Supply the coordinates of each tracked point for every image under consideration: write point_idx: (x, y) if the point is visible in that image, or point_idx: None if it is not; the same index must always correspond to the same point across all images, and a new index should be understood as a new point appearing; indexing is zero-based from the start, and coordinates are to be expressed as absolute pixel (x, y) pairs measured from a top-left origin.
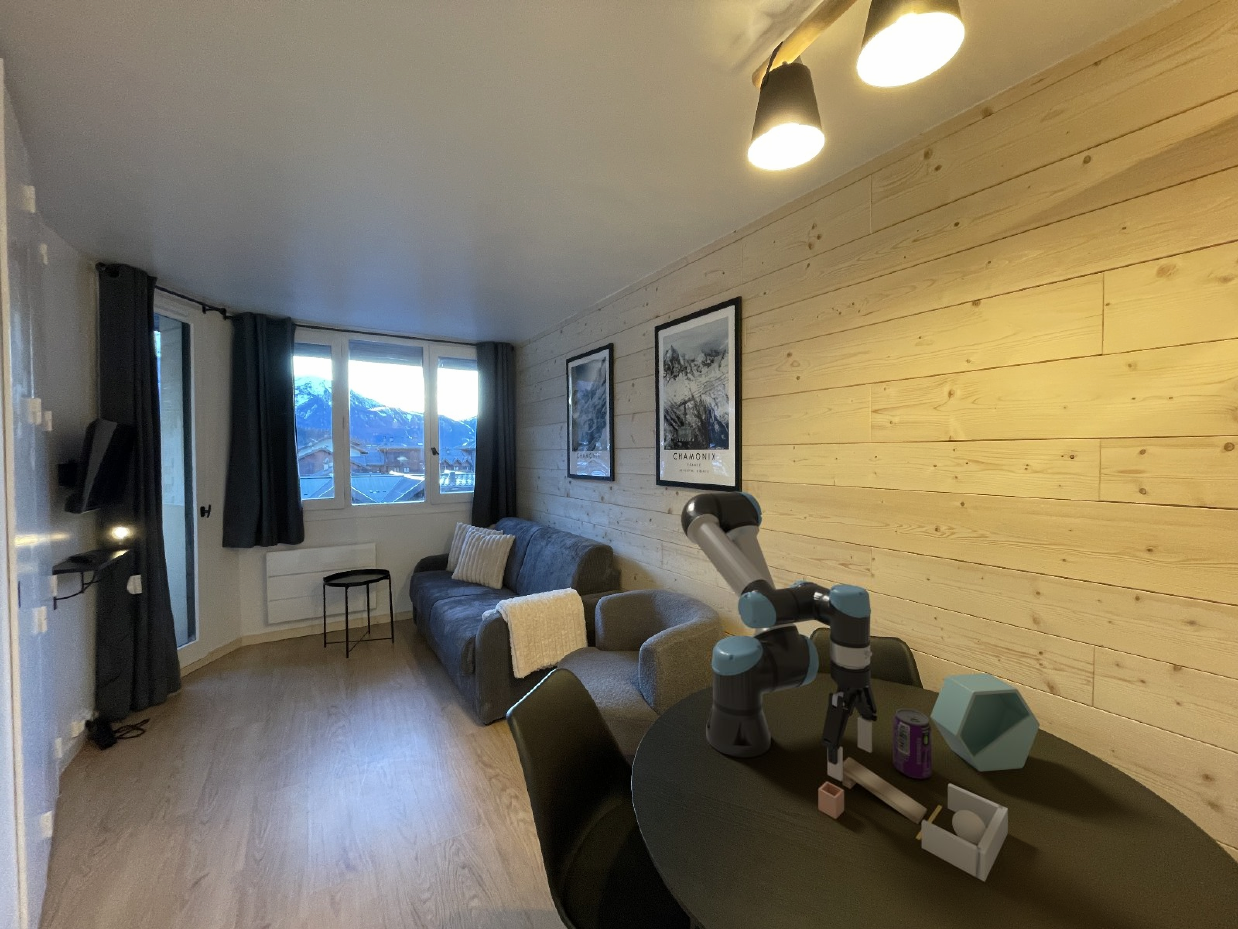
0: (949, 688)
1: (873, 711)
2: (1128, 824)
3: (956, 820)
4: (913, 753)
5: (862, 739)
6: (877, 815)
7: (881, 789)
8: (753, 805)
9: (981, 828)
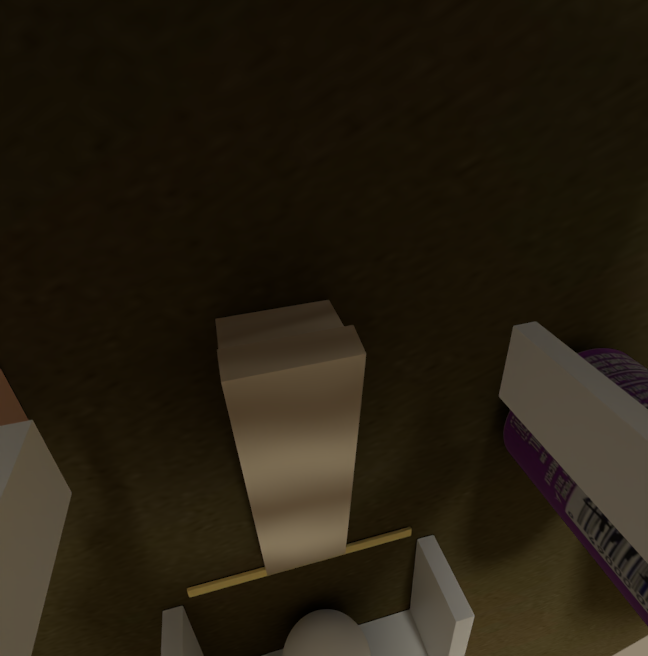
0: None
1: None
2: (601, 629)
3: None
4: (579, 537)
5: (556, 398)
6: (170, 496)
7: (278, 506)
8: None
9: None
